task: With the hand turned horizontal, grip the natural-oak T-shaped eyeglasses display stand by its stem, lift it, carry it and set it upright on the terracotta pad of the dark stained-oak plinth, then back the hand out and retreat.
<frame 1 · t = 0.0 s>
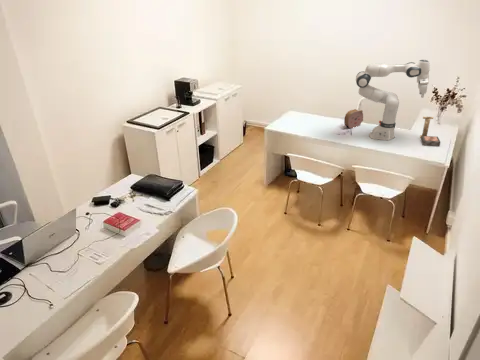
hand: (421, 95, 305), 39 cm above the table, tool pointing down, fingers open, 8 cm apart
face sculpture: (352, 126, 357), on the table
eyeglasses stand: (424, 137, 323), on the table
display plinth: (429, 143, 312), on the table
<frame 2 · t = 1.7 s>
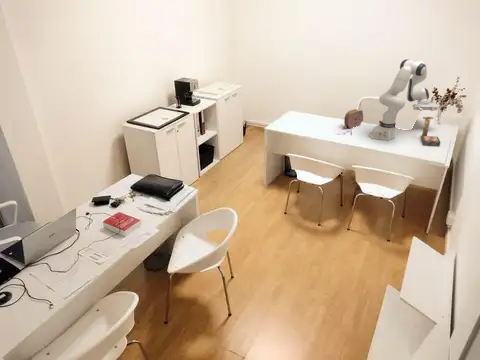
hand: (426, 110, 322), 22 cm above the table, tool horizontal, fingers open, 8 cm apart
nothing on the table moved.
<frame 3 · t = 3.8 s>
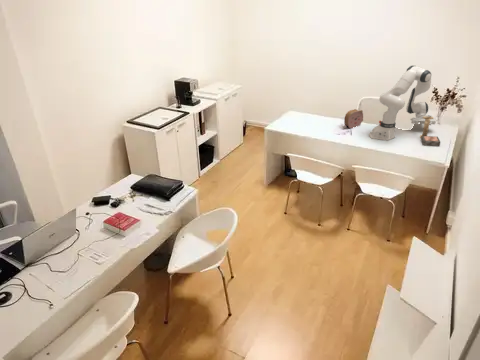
hand: (424, 124, 324), 10 cm above the table, tool horizontal, fingers open, 8 cm apart
nothing on the table moved.
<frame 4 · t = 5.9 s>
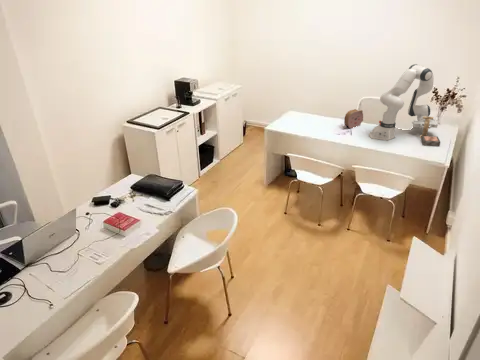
hand: (426, 127, 317), 10 cm above the table, tool horizontal, fingers closed on eyeglasses stand, 4 cm apart
eyeglasses stand: (424, 137, 323), on the table, touching gripper
everything else where it was.
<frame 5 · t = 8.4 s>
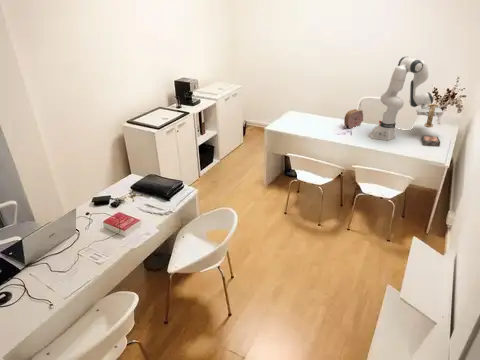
hand: (431, 115, 307), 23 cm above the table, tool horizontal, fingers closed on eyeglasses stand, 4 cm apart
eyeglasses stand: (428, 125, 313), point 13 cm above the table, touching gripper
everything else where it was.
when the fingers open (16 cm above the table, at t = 11.1 s): eyeglasses stand drops 1 cm, resting on display plinth.
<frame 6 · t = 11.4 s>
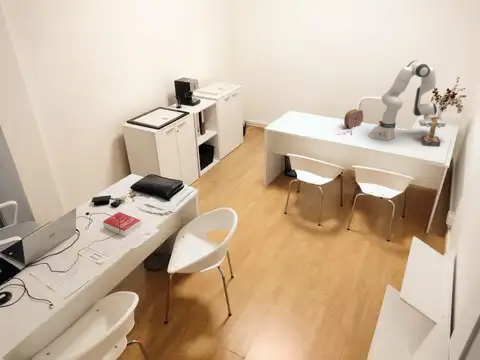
hand: (433, 126, 303), 16 cm above the table, tool horizontal, fingers open, 7 cm apart
eyeglasses stand: (430, 138, 310), point 4 cm above the table, touching display plinth
everything else where it was.
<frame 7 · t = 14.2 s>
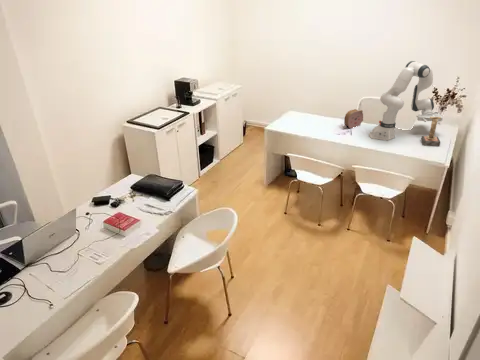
hand: (431, 121, 314), 16 cm above the table, tool horizontal, fingers open, 8 cm apart
nothing on the table moved.
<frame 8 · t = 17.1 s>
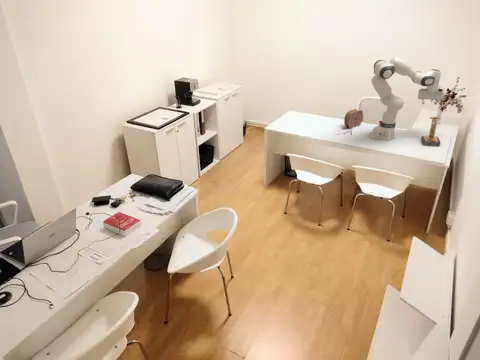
hand: (429, 104, 314), 29 cm above the table, tool pointing down, fingers open, 8 cm apart
nothing on the table moved.
at the end: eyeglasses stand inside the target area on the display plinth (0.0 cm from its centre), point 4.3 cm above the display plinth's base; eyeglasses stand tilted 0°; the gripper is holding nothing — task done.
